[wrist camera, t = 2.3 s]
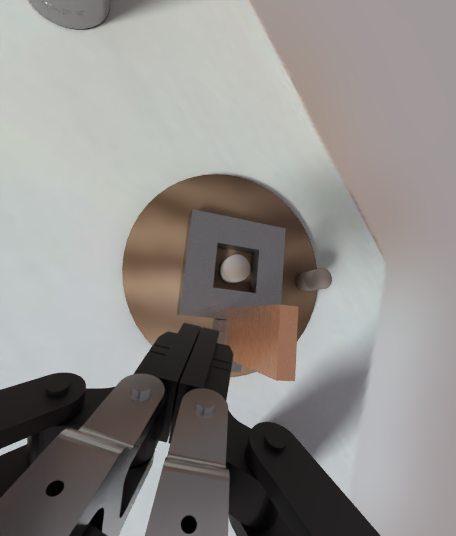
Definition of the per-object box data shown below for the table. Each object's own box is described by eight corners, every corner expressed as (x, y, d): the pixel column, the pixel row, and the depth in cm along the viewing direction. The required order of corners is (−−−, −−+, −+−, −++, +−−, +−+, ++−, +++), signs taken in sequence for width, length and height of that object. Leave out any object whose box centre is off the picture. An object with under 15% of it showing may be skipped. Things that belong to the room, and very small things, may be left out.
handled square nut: (188, 214, 34) (226, 152, 21) (277, 232, 37) (358, 188, 24) (170, 365, 31) (199, 403, 18) (268, 370, 34) (355, 405, 21)
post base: (125, 168, 34) (125, 142, 29) (305, 190, 42) (330, 172, 37) (119, 384, 31) (117, 398, 26) (316, 366, 38) (345, 374, 33)
